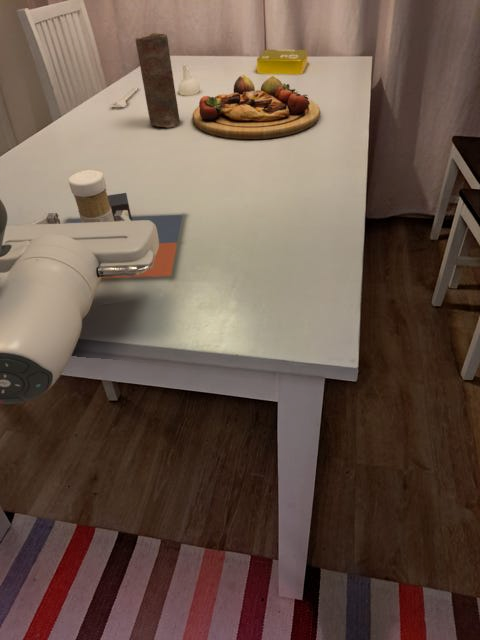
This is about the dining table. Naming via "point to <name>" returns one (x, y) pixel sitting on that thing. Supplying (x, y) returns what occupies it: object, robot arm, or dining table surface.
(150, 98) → the brown rough pillar
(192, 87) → the garlic bulb
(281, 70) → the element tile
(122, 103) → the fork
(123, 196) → the black block
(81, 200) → the sprinkles bottle
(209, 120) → the wooden plate
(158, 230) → the sorting board
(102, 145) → the dining table surface
